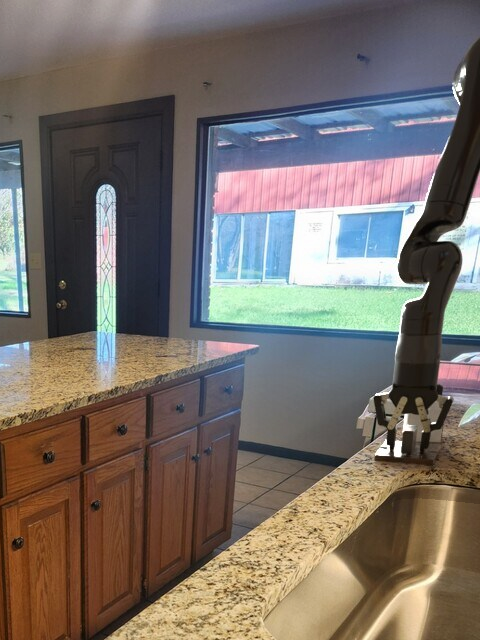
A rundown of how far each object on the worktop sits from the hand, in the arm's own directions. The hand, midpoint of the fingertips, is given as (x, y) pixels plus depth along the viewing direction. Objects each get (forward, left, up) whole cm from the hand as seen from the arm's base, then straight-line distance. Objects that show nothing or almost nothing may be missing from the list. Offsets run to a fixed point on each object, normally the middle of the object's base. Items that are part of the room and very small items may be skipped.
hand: (406, 448), depth 131 cm
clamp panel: (0, 0, -3) cm, 3 cm away
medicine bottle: (0, -22, -3) cm, 22 cm away
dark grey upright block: (0, 0, 0) cm, 0 cm away
